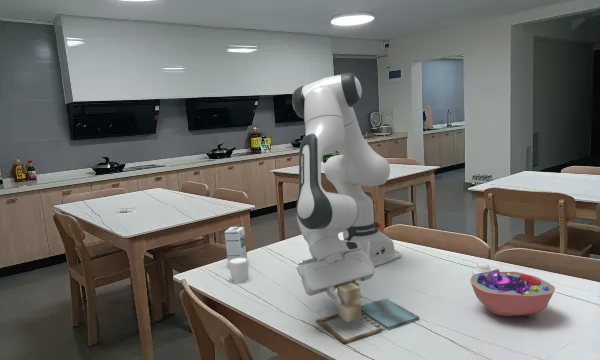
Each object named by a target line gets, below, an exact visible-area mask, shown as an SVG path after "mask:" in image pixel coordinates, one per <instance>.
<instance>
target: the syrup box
mask: <svg viewBox="0 0 600 360" xmlns="http://www.w3.org/2000/svg"><path fill="white" fill-rule="evenodd" d="M245 235H246V233H245V227H244V226H230V227H229V228H228V229H227V230H225V231H224V238H225V246H226V257H227V264H228V267H229V263H228V261H229V260H231V259H233V258H239V257H244V258H248V253H247V252H248V251H247V242H246V236H245Z"/></svg>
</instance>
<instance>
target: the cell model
mask: <svg viewBox="0 0 600 360" xmlns="http://www.w3.org/2000/svg"><path fill="white" fill-rule="evenodd" d="M470 284H471V286H472V289H473V292H474V294H475V297H476V298H477V300H479V302H480V303H481V304H482V305H483V306H484V307H485V308H487V309H488V310H489V311H491V312H492V313H494V314H496V315H497V316H503V317H505V316H506V317H515V316H525V317H528V316H529V317H530V316H531V317H532V316H535V315H538V314H540V313H542V312H543V311H544V310H545V309H547V307H548V305H549V302H550V300H551V299H552V298H553V294H554V293H555V290H556V287H555V286H554V285H552V284H551V283H549V282H547V281H545V280H544V279H542V278H540V277H537V276H535V275H531V274H527V273H523V272H518V271H501V270H500V269H496V268H495V269H493V270H492V271H490V272H483V273H478V274H475V275H473V274H472V276H471V277H470Z"/></svg>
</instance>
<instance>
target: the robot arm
mask: <svg viewBox="0 0 600 360" xmlns="http://www.w3.org/2000/svg"><path fill="white" fill-rule="evenodd" d="M362 93H363V90H362V85H361V82H360V81H359V79H358V78H357V76H356V75H355V74H353V73H352V72H343V73H341V74H336V75H330V76H327V77H323V78H321V79H319V80H315V81H314V82H311V83H309V84H306V85H301V86H299V87H298V88H296V89H295V90H294V91H293V93H292V96H291V100H292V101H291V103H292V107H293V110H294V111H295V114H296V115H297V116H298V117H299V118H301V119H303V120H304V126H305V136H304V137H303V138H302V140H301V141H300V145H299V150H298V152H299V153H298V155H299V156H298V195H297V201H296V208H295V209H296V210H295V211H296V219H297V220H296V222H297V224H298V226H299V227H298V228H299V230H300V233H301V235H302V237H303V239H304V241H306V243H307V245H308V250H309V253H310V255H311V257H312V258H309V259H305V260H301V261H299V263H297V265H296V270H297V273H298V275H299V277H301V281H302V282H301V283H302V285H303V289H304V292H305V294H307V295H308V296H312V297H313V296H315V295H318V294H321V293H325V292H326V294H327V296H328V297H330V298H331V299H332V300H334V302H335V304H336V306H338V305H341V304H343V303H344V300H343V299H342V296H338V295H337V292H335V290H337V286H341V285H344V284H348V283H353V284H355V285H357V286H358V287H360V297H361V299H363V297H364V294H363V292H362V282H365V281H367V280H371V279H372V278H373V277H374V275H375V273H376V269H375V267H378V266H381V265H384V264H386V263H389V262H391V261H394V260H398V259H400V258H402V253H401V252H400V251H399V250H396V249H395V244H394V242H393V240H392V239H391V238H390V237H388V236H387V235H386V234H384V233H382V232H381V230H379V229H383V228H384V226H385V225H384V223H383V222H381V221H375V214H374V212H375V211H374V202H373V200H372V198H370V196H368V195H367V194H366V193H365V192H364V190H363V188H362V187H375V186H383V185H384V184H385V183H386V182H387V181H389V180H388V179H389V177H390V174H391V167H390V164H389V161H388V159H386V158H385V157H383V156H381V155H380V154H378V153H377V152H376V151H375V150H373V148H372V146H370V145H369V143H368V142H367V140H366V139H365V138H364V136H363V133H362V131H361V128H360V125H359V121H358V119H357V116H356V113H355V110H354V106H356V105H358V104H359V103H360V101H361V100H362ZM335 151H337V153H339V154H337V155H332V156H330V157H329V158H327V160H326V162H325V165H324V169H323V170H324V175H325V178H326V179H327V180H328V181H329V182H330V183H331V184H332V185H333V187H334V188H335V190H336V191H337V192H330V191H329V192H328V191H325V189H324V188H323V186H322V158H323V156H326V155H328V154H331V153H333V152H335ZM340 233H342V237H343V239H340V238H339V234H340Z"/></svg>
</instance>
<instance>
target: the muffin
mask: <svg viewBox="0 0 600 360" xmlns="http://www.w3.org/2000/svg"><path fill="white" fill-rule="evenodd" d="M490 271H493V270H492V269H491V268H490V265H489V263H486V262H478V263H477V264H476V267H475V268H474V269H473V270H472V272H471V274H472V276H473V275H475V274H478V273H483V272H490Z"/></svg>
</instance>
